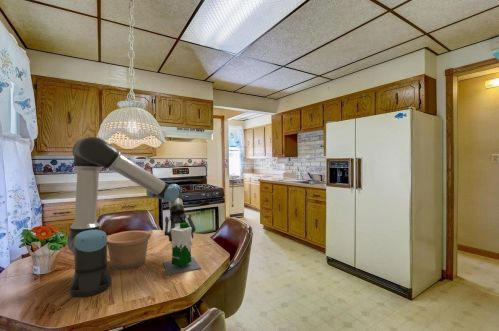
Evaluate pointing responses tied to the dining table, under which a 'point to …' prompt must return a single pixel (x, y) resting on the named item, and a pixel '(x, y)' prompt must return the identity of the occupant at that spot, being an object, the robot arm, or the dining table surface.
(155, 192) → the robot arm
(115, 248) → the pottery
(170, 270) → the mat
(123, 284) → the dining table surface
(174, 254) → the soya milk
